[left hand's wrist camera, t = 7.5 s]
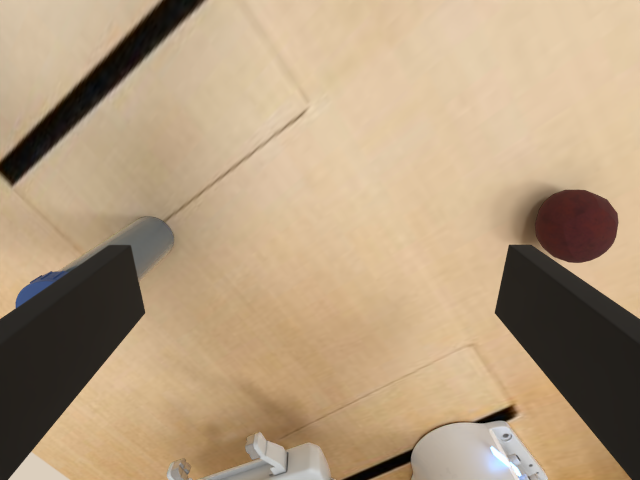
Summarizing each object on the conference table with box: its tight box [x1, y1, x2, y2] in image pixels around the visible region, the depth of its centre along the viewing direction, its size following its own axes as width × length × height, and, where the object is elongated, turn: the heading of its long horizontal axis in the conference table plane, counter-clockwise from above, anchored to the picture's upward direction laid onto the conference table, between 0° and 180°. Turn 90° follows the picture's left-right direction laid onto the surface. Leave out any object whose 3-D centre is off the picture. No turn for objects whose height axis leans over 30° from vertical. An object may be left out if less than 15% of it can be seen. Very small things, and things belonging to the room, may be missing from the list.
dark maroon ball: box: [535, 190, 618, 263], centre depth 38 cm, size 7×8×7 cm
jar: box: [57, 217, 174, 282], centre depth 35 cm, size 5×5×16 cm
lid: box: [16, 271, 69, 308], centre depth 27 cm, size 6×6×2 cm
